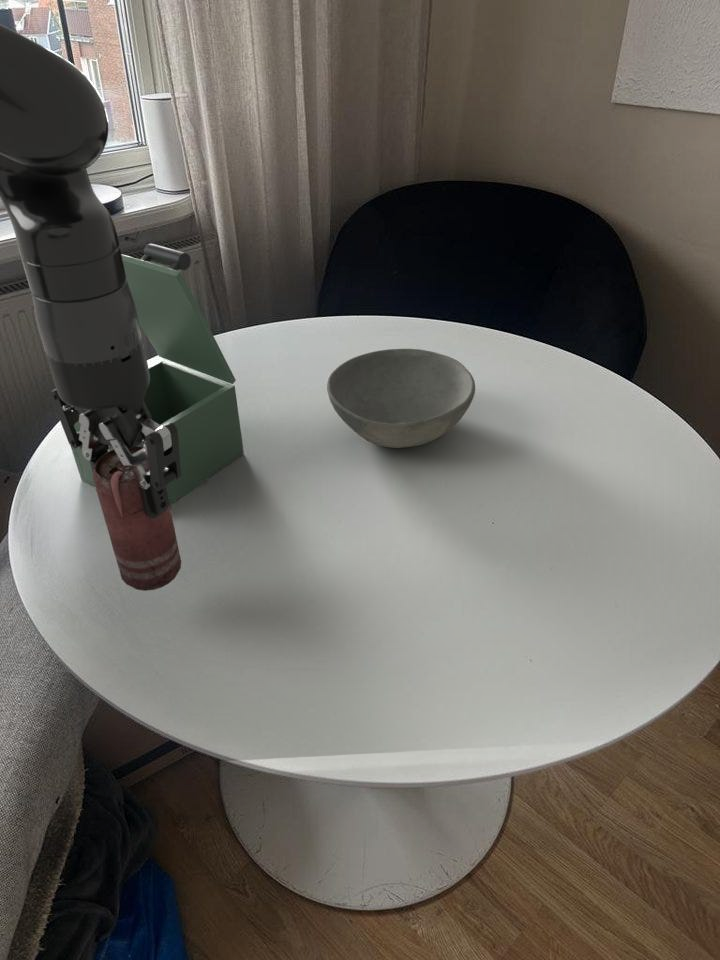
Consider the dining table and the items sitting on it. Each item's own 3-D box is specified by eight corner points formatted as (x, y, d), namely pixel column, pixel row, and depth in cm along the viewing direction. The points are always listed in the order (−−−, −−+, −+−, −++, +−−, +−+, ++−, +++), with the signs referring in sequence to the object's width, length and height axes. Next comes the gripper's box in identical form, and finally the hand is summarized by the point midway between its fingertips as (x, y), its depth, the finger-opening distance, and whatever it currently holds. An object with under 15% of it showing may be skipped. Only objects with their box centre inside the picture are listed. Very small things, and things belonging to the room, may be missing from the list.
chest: (152, 518, 88) (134, 446, 82) (81, 480, 95) (59, 410, 88) (244, 453, 100) (234, 385, 93) (174, 423, 106) (161, 357, 99)
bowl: (483, 468, 96) (489, 418, 91) (330, 474, 95) (327, 424, 91) (458, 389, 113) (462, 344, 108) (327, 394, 112) (325, 349, 107)
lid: (176, 275, 78) (206, 245, 80) (94, 251, 85) (124, 224, 87) (232, 384, 92) (256, 356, 95) (159, 356, 99) (183, 331, 101)
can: (116, 597, 70) (83, 485, 61) (126, 553, 75) (97, 444, 66) (178, 592, 70) (154, 482, 62) (184, 549, 75) (163, 441, 67)
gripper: (-3, 332, 57) (52, 493, 68) (115, 382, 51) (156, 552, 61) (74, 301, 62) (114, 456, 73) (190, 343, 56) (216, 506, 66)
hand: (133, 499), depth 67 cm, fingers closed on can, 6 cm apart
